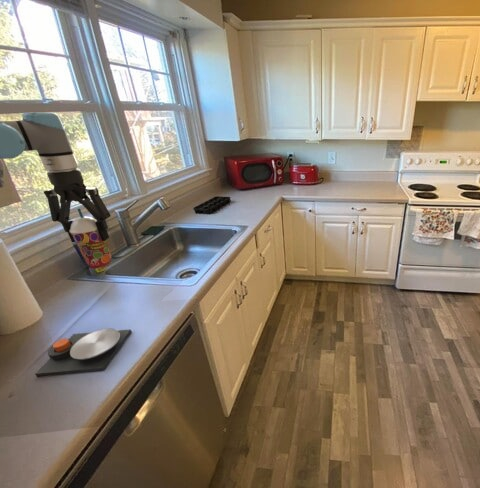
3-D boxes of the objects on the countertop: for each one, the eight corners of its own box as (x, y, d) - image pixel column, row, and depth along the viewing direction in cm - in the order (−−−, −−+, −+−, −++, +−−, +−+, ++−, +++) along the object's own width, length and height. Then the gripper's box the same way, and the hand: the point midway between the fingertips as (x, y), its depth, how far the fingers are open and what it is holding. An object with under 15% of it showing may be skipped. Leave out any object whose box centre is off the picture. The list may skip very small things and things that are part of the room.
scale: (34, 377, 71) (28, 369, 69) (73, 337, 83) (68, 329, 82) (104, 370, 72) (100, 362, 71) (131, 332, 85) (128, 324, 83)
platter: (59, 361, 71) (59, 360, 71) (87, 331, 81) (87, 330, 81) (105, 357, 72) (105, 356, 72) (127, 328, 82) (127, 326, 82)
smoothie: (100, 271, 92) (77, 213, 83) (78, 269, 93) (53, 212, 84) (121, 259, 99) (101, 205, 91) (100, 257, 100) (79, 204, 92)
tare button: (52, 352, 74) (49, 347, 74) (61, 343, 77) (58, 339, 77) (65, 351, 75) (62, 346, 74) (73, 342, 78) (71, 337, 77)
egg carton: (192, 214, 180) (190, 209, 178) (208, 201, 207) (207, 196, 205) (219, 214, 180) (218, 208, 178) (232, 200, 207) (231, 195, 205)
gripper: (11, 173, 78) (47, 246, 88) (93, 171, 80) (118, 243, 90) (34, 168, 85) (64, 236, 94) (108, 166, 87) (130, 233, 96)
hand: (90, 239), depth 92 cm, fingers closed on smoothie, 8 cm apart
